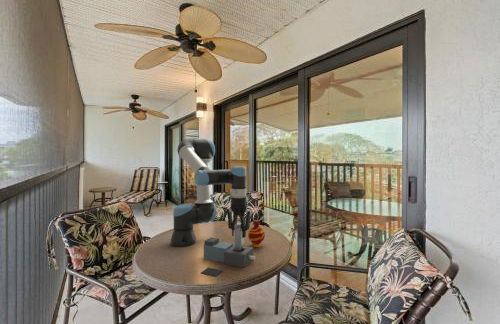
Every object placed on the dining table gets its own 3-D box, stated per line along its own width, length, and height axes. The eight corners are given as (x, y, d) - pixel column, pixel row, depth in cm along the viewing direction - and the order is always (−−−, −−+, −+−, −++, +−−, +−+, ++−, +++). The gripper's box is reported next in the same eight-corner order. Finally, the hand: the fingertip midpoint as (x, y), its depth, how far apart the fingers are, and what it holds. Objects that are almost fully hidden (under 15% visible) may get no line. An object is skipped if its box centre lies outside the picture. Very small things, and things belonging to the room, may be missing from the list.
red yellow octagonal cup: (263, 249, 146) (263, 223, 146) (246, 247, 148) (246, 222, 148) (266, 243, 156) (266, 218, 156) (249, 242, 158) (249, 218, 158)
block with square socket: (201, 259, 131) (201, 242, 131) (213, 252, 141) (213, 236, 141) (250, 268, 120) (249, 249, 120) (258, 260, 130) (258, 242, 130)
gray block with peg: (233, 252, 126) (233, 224, 126) (238, 248, 132) (238, 221, 132) (239, 253, 125) (239, 225, 125) (244, 249, 131) (244, 222, 131)
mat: (200, 273, 115) (200, 272, 115) (207, 268, 121) (207, 267, 121) (215, 276, 112) (215, 275, 112) (222, 271, 118) (222, 270, 118)
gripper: (220, 196, 128) (221, 243, 128) (250, 198, 122) (250, 247, 122) (228, 195, 135) (228, 239, 135) (256, 196, 128) (256, 243, 129)
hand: (238, 243), depth 129 cm, fingers closed on gray block with peg, 3 cm apart
